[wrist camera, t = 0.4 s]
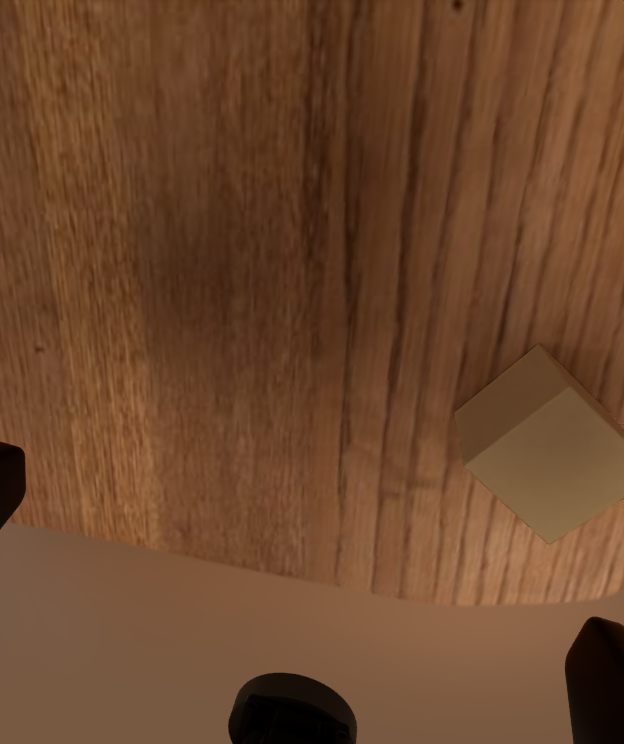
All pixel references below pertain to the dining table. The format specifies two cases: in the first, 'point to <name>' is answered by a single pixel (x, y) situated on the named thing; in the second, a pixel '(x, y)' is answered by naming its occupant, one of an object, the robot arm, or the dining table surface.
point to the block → (543, 446)
